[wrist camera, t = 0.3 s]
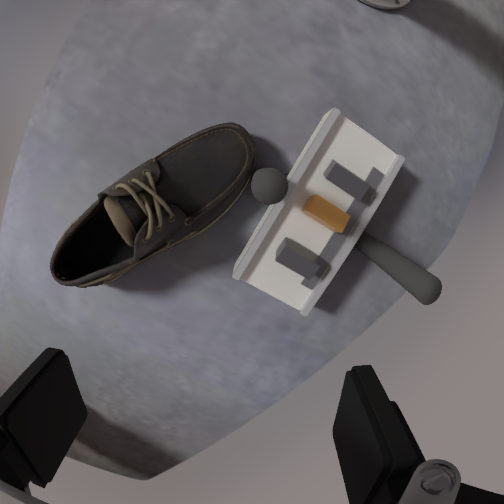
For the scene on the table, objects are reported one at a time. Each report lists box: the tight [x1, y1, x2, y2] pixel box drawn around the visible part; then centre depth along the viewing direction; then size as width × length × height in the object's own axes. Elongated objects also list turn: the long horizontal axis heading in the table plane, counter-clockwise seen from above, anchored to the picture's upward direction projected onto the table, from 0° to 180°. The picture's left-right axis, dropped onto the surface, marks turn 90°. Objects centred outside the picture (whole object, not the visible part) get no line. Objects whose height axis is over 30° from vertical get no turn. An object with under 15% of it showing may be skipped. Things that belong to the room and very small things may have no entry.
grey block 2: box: [323, 160, 370, 201], centre depth 32 cm, size 2×4×2 cm, turn 59°
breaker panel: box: [232, 107, 405, 317], centre depth 36 cm, size 22×10×5 cm, turn 150°
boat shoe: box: [50, 123, 257, 288], centre depth 33 cm, size 11×29×11 cm, turn 126°
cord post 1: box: [251, 168, 288, 205], centre depth 29 cm, size 2×2×18 cm
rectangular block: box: [301, 194, 351, 233], centre depth 33 cm, size 2×4×2 cm, turn 60°
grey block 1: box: [275, 237, 320, 280], centre depth 34 cm, size 2×4×2 cm, turn 59°
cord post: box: [354, 231, 442, 305], centre depth 31 cm, size 2×2×18 cm
